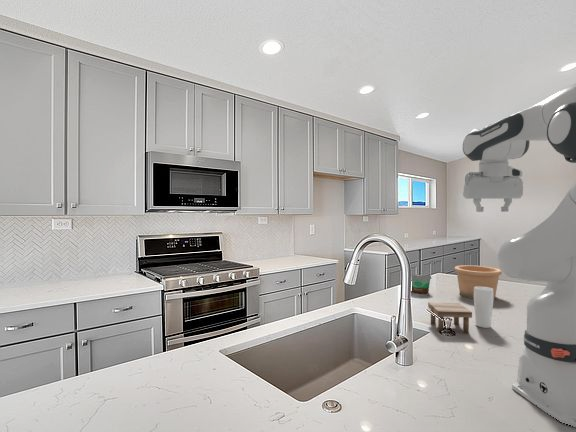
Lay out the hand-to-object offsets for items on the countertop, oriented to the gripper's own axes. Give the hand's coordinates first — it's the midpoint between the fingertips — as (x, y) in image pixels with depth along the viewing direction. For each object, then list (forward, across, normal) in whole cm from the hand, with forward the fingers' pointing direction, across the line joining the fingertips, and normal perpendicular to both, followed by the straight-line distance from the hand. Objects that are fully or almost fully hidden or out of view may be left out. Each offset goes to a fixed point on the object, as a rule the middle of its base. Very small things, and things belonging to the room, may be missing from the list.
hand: (492, 211), depth 117 cm
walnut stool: (+45, -8, +12) cm, 48 cm away
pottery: (+47, +36, +56) cm, 81 cm away
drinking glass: (+46, +7, +12) cm, 48 cm away
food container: (+47, +8, +64) cm, 80 cm away
